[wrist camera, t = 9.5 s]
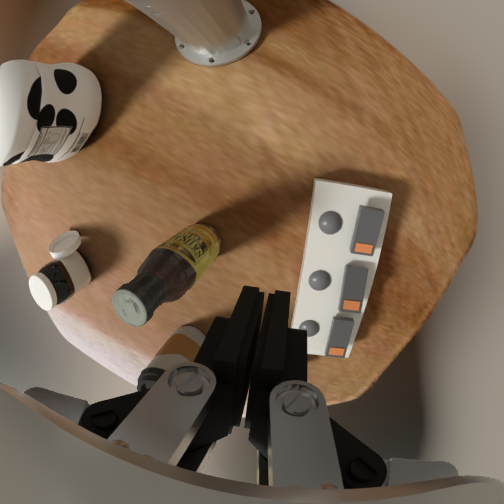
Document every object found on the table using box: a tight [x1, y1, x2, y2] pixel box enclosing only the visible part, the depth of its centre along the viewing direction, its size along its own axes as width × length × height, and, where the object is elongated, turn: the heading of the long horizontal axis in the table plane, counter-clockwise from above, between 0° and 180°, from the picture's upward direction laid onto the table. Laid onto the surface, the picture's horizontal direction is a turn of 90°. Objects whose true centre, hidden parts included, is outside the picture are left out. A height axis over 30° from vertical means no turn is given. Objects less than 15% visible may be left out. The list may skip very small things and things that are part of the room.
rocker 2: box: [349, 205, 385, 256], centre depth 32 cm, size 6×3×1 cm, turn 175°
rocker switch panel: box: [291, 178, 392, 358], centre depth 38 cm, size 26×10×4 cm, turn 175°
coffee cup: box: [137, 326, 205, 391], centre depth 41 cm, size 8×8×15 cm
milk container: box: [0, 60, 102, 166], centre depth 28 cm, size 17×17×18 cm
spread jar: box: [29, 231, 92, 311], centre depth 42 cm, size 12×11×12 cm
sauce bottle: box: [112, 224, 222, 327], centre depth 32 cm, size 7×6×20 cm
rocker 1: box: [325, 316, 354, 358], centre depth 38 cm, size 6×3×1 cm, turn 175°
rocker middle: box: [338, 265, 368, 314], centre depth 35 cm, size 6×3×1 cm, turn 176°
